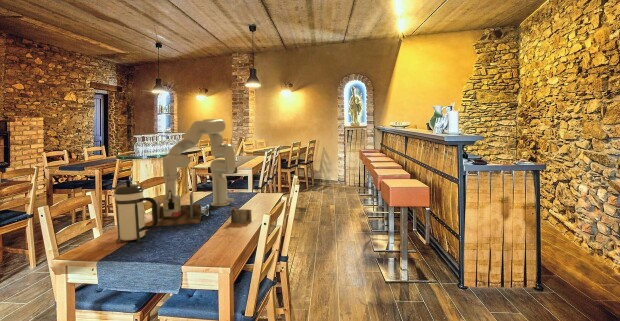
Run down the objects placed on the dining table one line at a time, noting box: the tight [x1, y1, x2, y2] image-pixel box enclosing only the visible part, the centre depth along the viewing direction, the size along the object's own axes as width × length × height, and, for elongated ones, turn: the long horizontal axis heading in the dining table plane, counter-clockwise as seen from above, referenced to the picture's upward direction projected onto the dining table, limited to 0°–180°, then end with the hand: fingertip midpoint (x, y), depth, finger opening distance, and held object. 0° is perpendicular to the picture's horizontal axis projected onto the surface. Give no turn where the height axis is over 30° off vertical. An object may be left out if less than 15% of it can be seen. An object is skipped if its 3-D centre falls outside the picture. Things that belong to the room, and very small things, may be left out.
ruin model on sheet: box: [230, 206, 253, 224], centre depth 204 cm, size 11×3×10 cm, turn 83°
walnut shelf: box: [151, 198, 202, 227], centre depth 208 cm, size 25×16×12 cm, turn 104°
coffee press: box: [111, 179, 158, 244], centre depth 175 cm, size 17×16×30 cm
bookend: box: [189, 191, 202, 219], centre depth 210 cm, size 5×9×14 cm, turn 14°
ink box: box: [162, 194, 181, 216], centre depth 207 cm, size 9×5×12 cm, turn 86°
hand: (172, 207), depth 207 cm, fingers closed on ink box, 6 cm apart
